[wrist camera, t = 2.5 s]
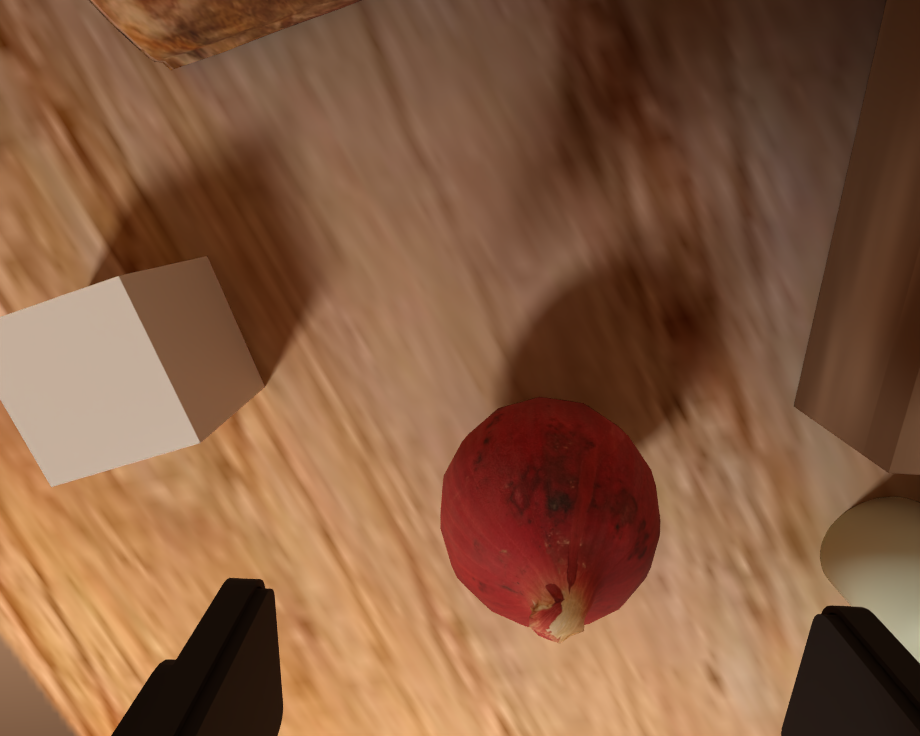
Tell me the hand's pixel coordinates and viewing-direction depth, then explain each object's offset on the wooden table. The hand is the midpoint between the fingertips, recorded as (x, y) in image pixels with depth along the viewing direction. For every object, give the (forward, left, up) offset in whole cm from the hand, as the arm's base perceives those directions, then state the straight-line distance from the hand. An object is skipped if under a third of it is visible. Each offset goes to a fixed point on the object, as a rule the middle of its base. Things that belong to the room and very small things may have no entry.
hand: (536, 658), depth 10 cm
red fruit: (-1, 0, -10) cm, 10 cm away
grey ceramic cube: (+11, -3, -10) cm, 15 cm away
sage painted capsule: (-13, +3, -10) cm, 16 cm away
